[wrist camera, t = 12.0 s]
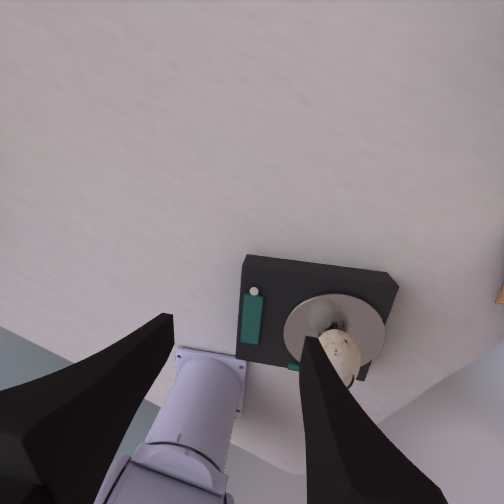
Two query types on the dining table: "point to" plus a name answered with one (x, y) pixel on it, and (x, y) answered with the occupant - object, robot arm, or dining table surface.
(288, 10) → the dining table surface
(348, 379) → the egg
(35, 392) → the robot arm
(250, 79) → the dining table surface
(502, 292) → the flower patterned turtle figurine
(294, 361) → the scale
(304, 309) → the scale pan
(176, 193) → the dining table surface
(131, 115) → the dining table surface
